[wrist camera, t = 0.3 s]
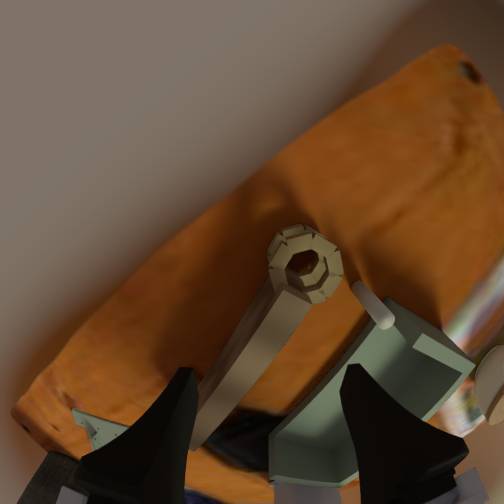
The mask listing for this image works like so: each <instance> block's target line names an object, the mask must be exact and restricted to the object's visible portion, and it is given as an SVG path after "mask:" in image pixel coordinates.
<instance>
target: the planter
mask: <svg viewBox="0 0 504 504" xmlns="http://www.w3.org/2000/svg"><path fill="white" fill-rule="evenodd" d="M78 463H79V462H78V461H76V460H74V459H72V458H70V457H68V456H66V455H63V454H61V453H58V452H54V451H50V452H49V453H48V454H47V456H46V458H45V459H44V461H43V462H42V464H41V465H40V467H39V468H38V470H37V471H36V473H35V474H34V476H33V477H32V479H31V481H30V482H29V484H28V485H27V487H26V489H25V491H24V492H23V494H22V495H21V497H20V499H19V501H18V502H17V504H56V502H57V499H58V496H59V493H60V491H61V488H62V486H65V487H68V488H70V489H72V490H74V491H76V492H78V493H81V494H83V495H85V496H87V497H88V498H89V495H90V493H89V492H88V491H86V490H85V489H83V488H82V487H81V486H79V485H78V484H77V483H76V482H75V481H74V480H73V475H74V473H75V470H76V468H77V465H78Z"/></svg>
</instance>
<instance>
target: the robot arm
mask: <svg viewBox="0 0 504 504" xmlns="http://www.w3.org/2000/svg"><path fill="white" fill-rule="evenodd" d="M339 393H340V399H341V405H342V410H343V413H344V416H345V419H346V422H347V425H348V428H349V431H350V435H351V438H352V441H353V444H354V448H355V453H356V458H357V464H358V472H359V480H360V493H361V504H484V503H486V502H487V501H488V500H489V497H488V494H487V492H486V489H485V487H484V484H483V482H482V480H481V478H480V475H479V473H478V471H477V468H476V467H473V468H472V469H470V470H468V471H467V472H465V473H463V474H461V475H460V476H458V477H457V478H455V479H454V477H453V475H454V474H455V473H456V472H455V469H454V467H455V466H457V465H458V464H459V463H460V462H461V461H462V460H463V459H464V458H465V457H466V456H467V455H468V453H469V449H468V448H467V445H466V444H465V441H464V440H463V438H461V437H458V436H455V435H452V434H449V433H446V432H444V431H442V430H440V429H437V428H435V427H433V426H431V425H430V424H428V423H426V422H424V421H423V420H421V419H419V418H418V417H416V416H415V415H413V414H412V413H411V412H409V411H408V410H407V409H405V408H404V407H403V406H402V405H400V404H399V403H398V402H397V401H396V400H395V399H394V398H392V397H391V396H390V395H389V394H388V393H387V392H386V391H385V390H384V389H383V388H382V387H381V386H380V385H379V384H378V383H377V382H376V381H375V379H374V378H373V377H372V376H371V375H370V374H369V373H368V372H367V371H366V370H365V369H364V367H363V366H362V365H361V364H360V363H355V364H348V365H347V368H346V371H345V375H344V378H343V381H342V384H341V387H340V390H339ZM198 400H199V393H198V388H197V383H196V379H195V374H194V369H193V368H185V367H180V368H179V369H178V371H177V372H176V374H175V375H174V377H173V378H172V380H171V381H170V383H169V384H168V385H167V387H166V388H165V389H164V391H163V392H162V393H161V395H160V396H159V397H158V398H157V400H156V401H155V402H154V403H153V404H152V405H151V406H150V408H149V409H148V410H147V411H146V412H145V413H144V414H143V415H142V416H141V417H140V418H139V419H138V420H137V421H136V422H135V423H134V424H133V425H132V426H130V427H129V428H128V429H127V430H125V431H124V432H123V433H122V434H120V435H119V436H118V437H116V438H115V439H113V440H112V441H110V442H109V443H107V444H105V445H104V446H102V447H100V448H99V449H97V450H95V451H93V452H91V453H89V454H87V455H85V456H82V457H81V459H80V461H79V463H78V465H77V468H76V470H75V473H74V475H73V480H74V481H75V482H76V483H77V484H78V485H79V486H81V487H82V488H83V489H85V490H86V491H88V492H89V493H90V495H89V498H88V497H87V496H85V495H83V494H81V493H78V492H76V491H74V490H72V489H70V488H68V487H65V486H62V488H61V491H60V493H59V496H58V499H57V502H56V504H184V484H185V471H186V462H187V454H188V449H189V445H190V441H191V437H192V432H193V428H194V424H195V420H196V416H197V409H198ZM269 486H270V487H274V504H342V499H341V494H340V489H339V488H331V487H319V486H309V485H301V484H294V483H288V482H282V481H276V480H275V481H273V482H271V483H270V484H269Z"/></svg>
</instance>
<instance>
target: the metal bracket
mask: <svg viewBox="0 0 504 504" xmlns="http://www.w3.org/2000/svg"><path fill="white" fill-rule="evenodd" d="M72 414H73V417H74V421H75V423H76V424H77V425H79V426H82V427H84V428H86V429H87V432H88V435H89V438H90V442H91V445H92V448H93V451H95V450H97V449H99V448H100V447H102V446H104V445H105V444H107V443H109V442H110V441H112V440H113V439H115V438H116V437H118V436H119V435H120V434H122V433H123V432H124V431H125V430H127V429H128V428H129V426H125V425H122V424H118V423H115V422H111V421H108V420H105V419H101V418H98V417H95V416H92V415H90V414H89V413H86V412H83V411H80V410H77V409H75V408H72ZM98 428H99V429H98ZM116 434H117V435H116Z"/></svg>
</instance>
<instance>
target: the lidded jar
mask: <svg viewBox="0 0 504 504" xmlns="http://www.w3.org/2000/svg"><path fill="white" fill-rule="evenodd" d="M474 395H475V400H476V402H477V405H478V407H479V409H480V411H481V412H482V414H483V415H484V416H485V418H486V420H487V422H488V423H489V424H490V425H494V424H497V423H498V422H500V421H502V420H503V419H504V344H503V345H497V346H495V347H494V348H492V349H491V350H490V351H489V352H488V353H487V354H486V355H485V357H484V358H483V359H482V361H481V362H480V364H479V366H478V368H477V370H476V373H475V384H474Z"/></svg>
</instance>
